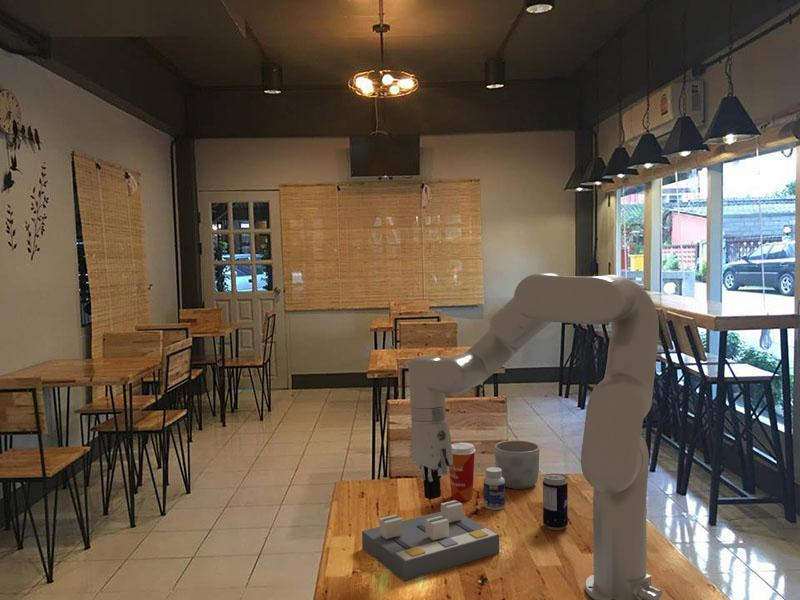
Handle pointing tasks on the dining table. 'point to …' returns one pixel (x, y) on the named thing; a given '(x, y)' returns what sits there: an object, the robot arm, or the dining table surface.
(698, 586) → the dining table surface
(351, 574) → the dining table surface
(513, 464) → the planter
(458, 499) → the paper cup
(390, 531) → the slider
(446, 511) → the slider
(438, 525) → the slider
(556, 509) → the beverage can
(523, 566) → the dining table surface
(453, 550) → the console
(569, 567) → the dining table surface
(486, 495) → the pill bottle
